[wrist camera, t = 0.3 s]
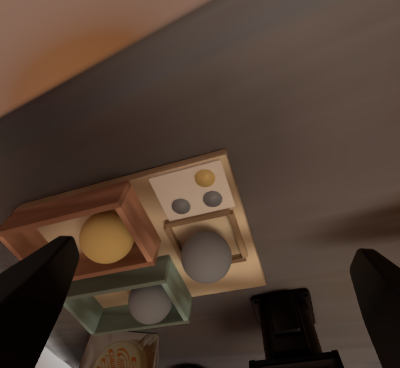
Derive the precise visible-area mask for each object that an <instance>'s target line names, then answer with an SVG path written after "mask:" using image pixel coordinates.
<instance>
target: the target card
mask: <svg viewBox="0 0 400 368" xmlns="http://www.w3.org/2000/svg"><path fill="white" fill-rule="evenodd" d="M148 180H149V182H150V184H151V186H152V188H153V190H154V192H155V194H156V196H157V198H158V200H159V202H160V204H161V206H162V208H163V210H164V212H165V214H166V216H167V218H168V220H169V221H173V220H178V219H182V218H187V217H191V216H195V215H200V214H204V213H209V212H213V211H218V210H222V209H227V208H231V207H235V202H234V199H233V196H232V193H231V190H230V187H229V184H228V181H227V178H226V175H225V171H224V168H223V165H222V162H221V159H220V158H219V159H215V160H212V161H208V162H204V163H200V164H197V165H193V166H189V167H185V168H182V169H178V170H174V171H170V172H167V173H163V174H159V175H155V176H151V177H149V178H148Z"/></svg>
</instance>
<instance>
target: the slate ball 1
mask: <svg viewBox="0 0 400 368" xmlns="http://www.w3.org/2000/svg"><path fill="white" fill-rule="evenodd" d="M128 306H129V310H130V313H131V315H132V316H133V317H134V318H135V319H136V320H137V321H138V322H140V323H142V324H147V325H150V324H155V323H158V322H160V321H161V320H163V319H164V318H165V317H166V316H167V315H168V313H169V311H170V309H171V307H172V301H171V299H170V298H169V296H168V294H167V293H166V291H165V290H164V288H163V286H162V285H161V284H159V285H154V286H148V287H142V288H136V289H132V290H131V292H130V294H129V298H128Z"/></svg>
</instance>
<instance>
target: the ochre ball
mask: <svg viewBox="0 0 400 368" xmlns="http://www.w3.org/2000/svg"><path fill="white" fill-rule="evenodd" d="M79 242H80V247H81V249H82V251H83V253H84V254H85V255H86V256H87V257H88V258H89V259H90V260H92V261H94V262H97V263H101V264H109V263H114V262H116V261H119V260H120V259H122V258H123V257H125V256H126V255H127V254H128V252H129V251H130V249H131V248H132V245H133V243H134V239H133V238H132V236H131V234H130V233H129V231H128V229H127V228H126V226H125V225H124V223H123V221H122V220H121V218H120V216H119V215H118V213H117V212H116V211H111V210H108V211H104V212H100V213H96V214H94V215H92V216H91V217H89V218H88V219H87V220H86V221H85V223H84V224H83V226H82V228H81V231H80V235H79Z"/></svg>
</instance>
